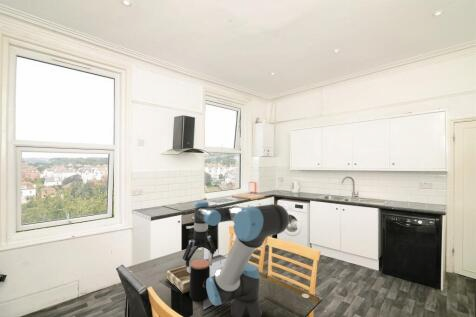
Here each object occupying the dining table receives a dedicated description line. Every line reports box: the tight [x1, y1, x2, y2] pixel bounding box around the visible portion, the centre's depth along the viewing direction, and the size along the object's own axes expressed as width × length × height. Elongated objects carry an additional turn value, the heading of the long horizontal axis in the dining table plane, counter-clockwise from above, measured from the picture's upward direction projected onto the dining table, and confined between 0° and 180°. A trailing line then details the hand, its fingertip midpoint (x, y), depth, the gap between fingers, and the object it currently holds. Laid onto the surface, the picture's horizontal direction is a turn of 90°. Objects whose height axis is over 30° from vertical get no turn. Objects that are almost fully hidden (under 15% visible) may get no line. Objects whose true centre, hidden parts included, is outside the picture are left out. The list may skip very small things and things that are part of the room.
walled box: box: [166, 264, 190, 294], centre depth 144 cm, size 20×16×5 cm
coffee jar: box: [189, 258, 211, 302], centre depth 129 cm, size 11×11×18 cm
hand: (199, 268), depth 129 cm, fingers open, 13 cm apart
